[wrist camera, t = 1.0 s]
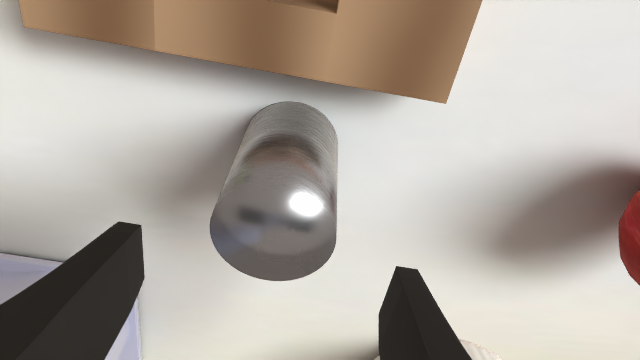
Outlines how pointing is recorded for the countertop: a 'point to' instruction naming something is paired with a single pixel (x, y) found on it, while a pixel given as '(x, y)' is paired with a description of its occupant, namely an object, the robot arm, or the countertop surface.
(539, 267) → the countertop surface
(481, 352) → the ramekin
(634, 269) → the onion
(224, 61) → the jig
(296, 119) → the brushed metal cylinder
